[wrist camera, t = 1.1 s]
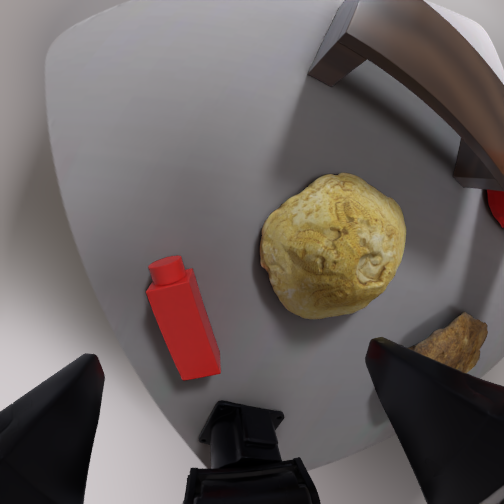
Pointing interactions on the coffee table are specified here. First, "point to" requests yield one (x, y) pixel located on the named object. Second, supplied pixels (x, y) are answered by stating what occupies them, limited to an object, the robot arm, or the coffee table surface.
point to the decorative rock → (455, 343)
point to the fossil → (332, 246)
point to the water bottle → (496, 205)
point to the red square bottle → (183, 318)
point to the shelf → (425, 75)
